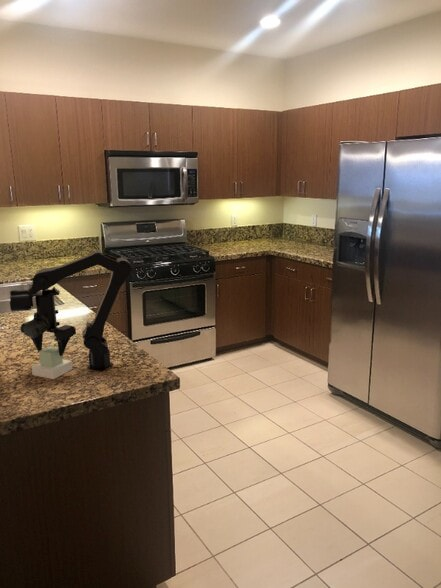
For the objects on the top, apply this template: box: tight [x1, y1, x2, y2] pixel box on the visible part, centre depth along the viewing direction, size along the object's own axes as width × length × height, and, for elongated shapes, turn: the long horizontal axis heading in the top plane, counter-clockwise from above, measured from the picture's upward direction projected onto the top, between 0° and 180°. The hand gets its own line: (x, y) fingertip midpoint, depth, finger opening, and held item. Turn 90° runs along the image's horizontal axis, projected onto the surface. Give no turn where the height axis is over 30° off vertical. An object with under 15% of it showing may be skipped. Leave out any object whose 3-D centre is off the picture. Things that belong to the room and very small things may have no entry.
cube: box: [38, 345, 63, 367], centre depth 158 cm, size 5×5×5 cm
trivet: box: [31, 359, 73, 380], centre depth 159 cm, size 9×9×3 cm
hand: (50, 353), depth 157 cm, fingers open, 9 cm apart
